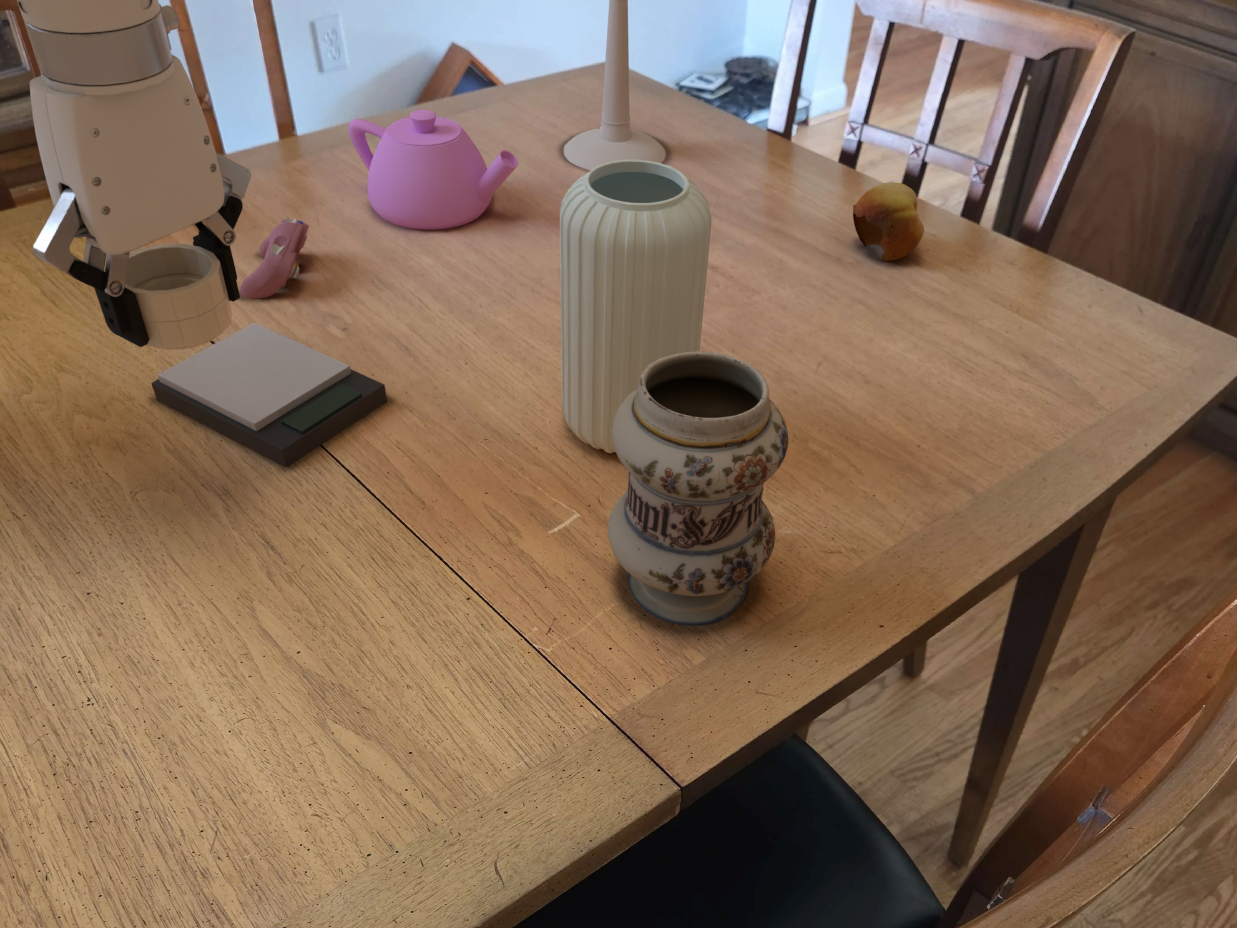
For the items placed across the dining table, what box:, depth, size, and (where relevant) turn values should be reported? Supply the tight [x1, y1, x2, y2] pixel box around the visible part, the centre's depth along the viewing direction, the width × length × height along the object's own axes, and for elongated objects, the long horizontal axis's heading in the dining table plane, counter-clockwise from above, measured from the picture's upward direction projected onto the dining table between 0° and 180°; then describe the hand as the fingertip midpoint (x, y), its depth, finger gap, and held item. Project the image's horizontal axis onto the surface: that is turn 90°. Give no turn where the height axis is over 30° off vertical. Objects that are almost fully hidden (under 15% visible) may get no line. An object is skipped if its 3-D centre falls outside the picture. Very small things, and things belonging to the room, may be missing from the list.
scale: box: [151, 322, 388, 468], centre depth 96 cm, size 16×12×3 cm
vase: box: [559, 160, 712, 454], centre depth 89 cm, size 12×12×22 cm
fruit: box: [852, 181, 925, 262], centre depth 119 cm, size 8×8×8 cm
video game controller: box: [239, 216, 310, 300], centre depth 111 cm, size 10×5×7 cm, turn 0°
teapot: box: [347, 109, 519, 231], centre depth 121 cm, size 14×20×11 cm
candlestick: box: [562, 0, 667, 172], centre depth 126 cm, size 13×13×30 cm
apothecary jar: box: [607, 351, 789, 627], centre depth 77 cm, size 12×12×18 cm
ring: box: [125, 243, 233, 351], centre depth 77 cm, size 7×7×5 cm
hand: (178, 314), depth 78 cm, fingers closed on ring, 7 cm apart
